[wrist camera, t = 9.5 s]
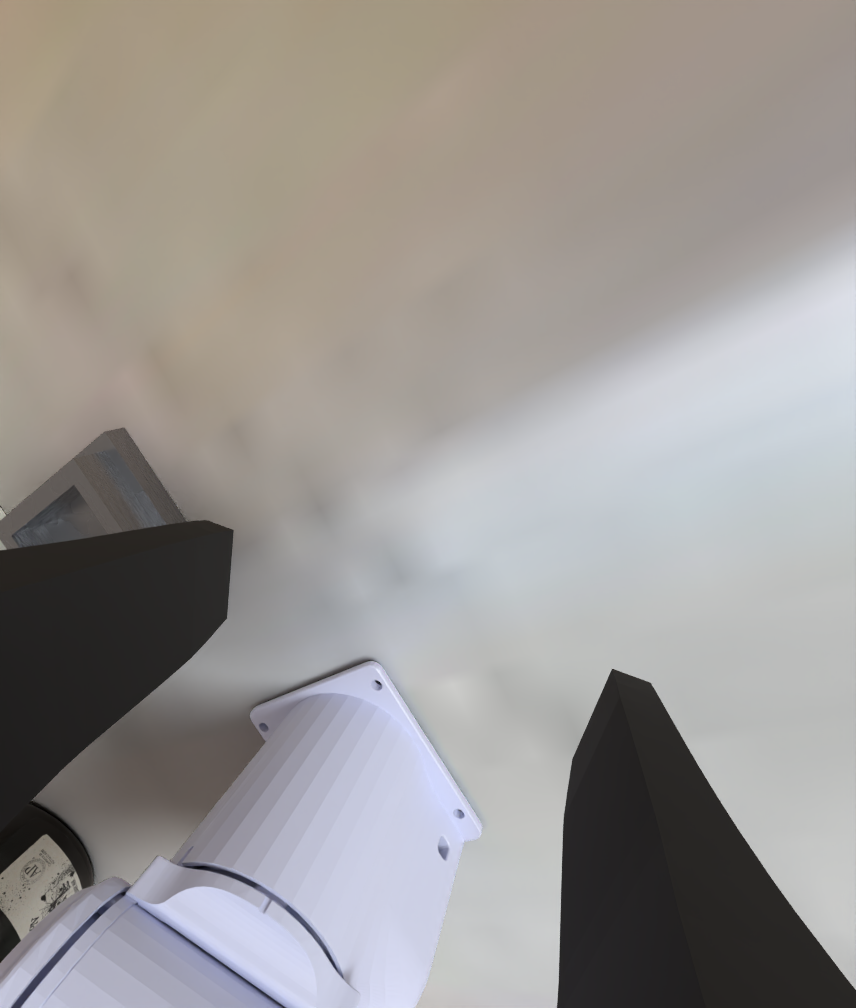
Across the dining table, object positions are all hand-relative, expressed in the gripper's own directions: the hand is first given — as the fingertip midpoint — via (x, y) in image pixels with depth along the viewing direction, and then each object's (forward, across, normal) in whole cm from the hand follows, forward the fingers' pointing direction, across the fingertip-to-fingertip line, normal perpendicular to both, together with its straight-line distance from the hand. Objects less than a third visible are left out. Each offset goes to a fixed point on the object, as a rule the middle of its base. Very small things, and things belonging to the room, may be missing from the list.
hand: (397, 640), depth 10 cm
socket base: (+10, +16, +8) cm, 21 cm away
